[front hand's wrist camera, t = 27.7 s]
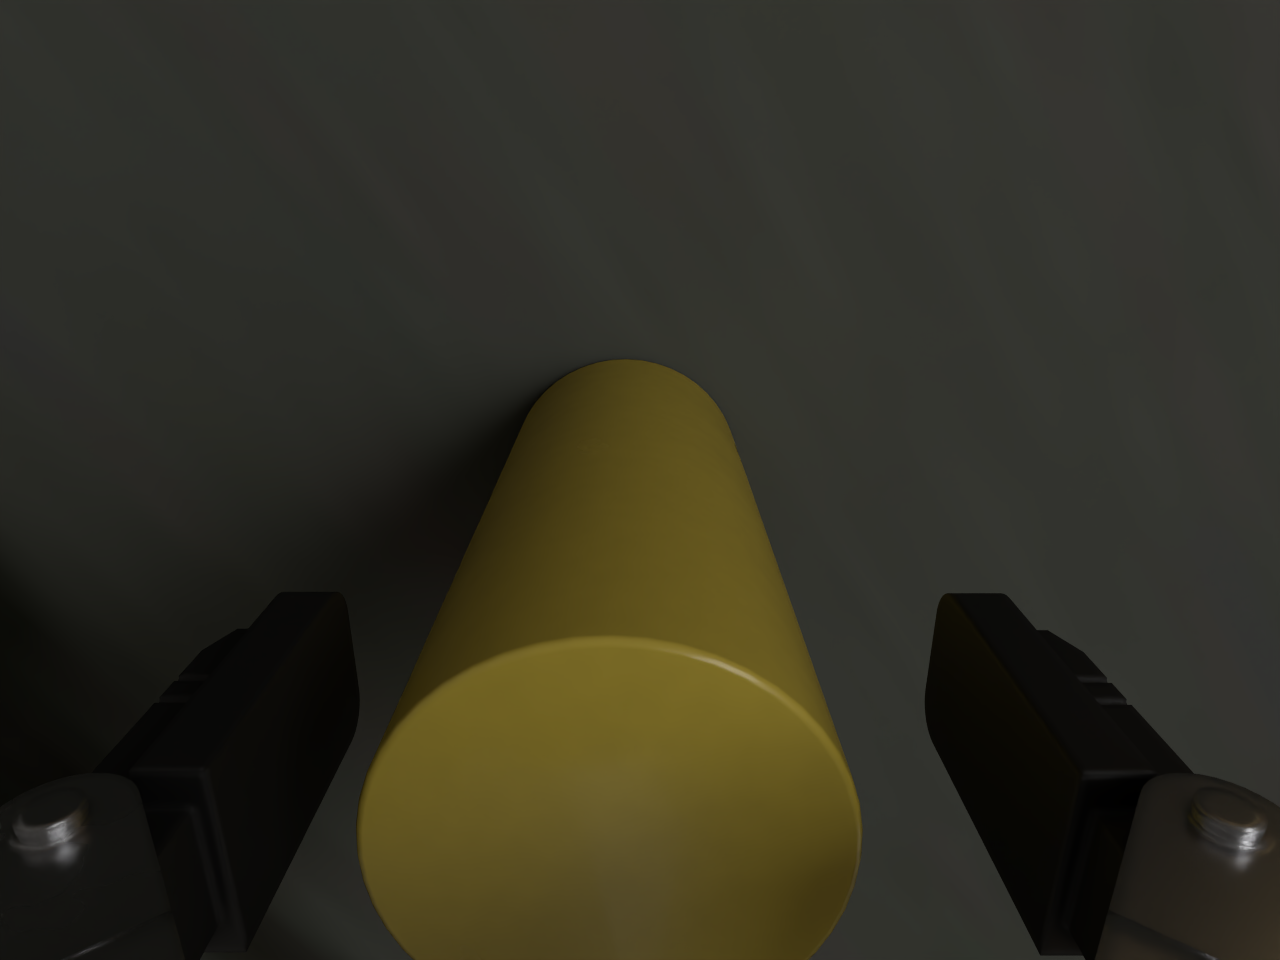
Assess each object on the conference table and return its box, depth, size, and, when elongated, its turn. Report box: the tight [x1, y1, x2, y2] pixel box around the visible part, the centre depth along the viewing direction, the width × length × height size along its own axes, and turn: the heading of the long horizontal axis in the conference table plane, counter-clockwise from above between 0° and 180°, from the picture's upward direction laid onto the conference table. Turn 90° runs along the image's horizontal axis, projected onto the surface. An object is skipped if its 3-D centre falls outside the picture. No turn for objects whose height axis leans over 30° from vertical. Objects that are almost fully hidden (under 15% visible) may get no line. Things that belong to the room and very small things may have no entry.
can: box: [356, 359, 863, 960], centre depth 13 cm, size 5×5×11 cm
